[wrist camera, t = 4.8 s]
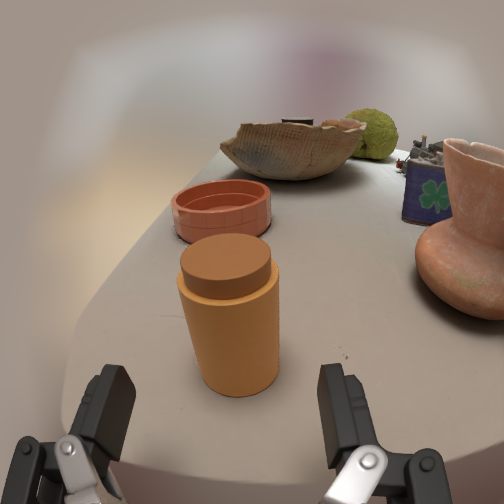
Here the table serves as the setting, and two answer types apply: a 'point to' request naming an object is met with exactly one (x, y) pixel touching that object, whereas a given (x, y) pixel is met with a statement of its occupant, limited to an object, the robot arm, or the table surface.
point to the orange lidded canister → (232, 311)
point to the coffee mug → (298, 120)
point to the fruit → (375, 134)
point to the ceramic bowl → (293, 148)
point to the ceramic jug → (468, 233)
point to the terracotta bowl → (221, 209)
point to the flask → (426, 192)
